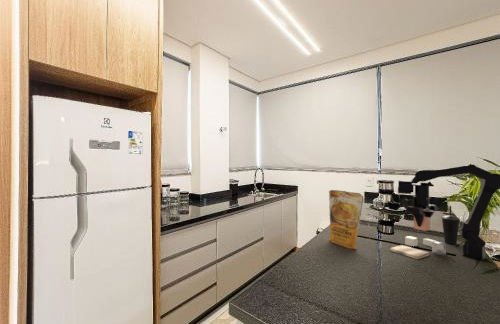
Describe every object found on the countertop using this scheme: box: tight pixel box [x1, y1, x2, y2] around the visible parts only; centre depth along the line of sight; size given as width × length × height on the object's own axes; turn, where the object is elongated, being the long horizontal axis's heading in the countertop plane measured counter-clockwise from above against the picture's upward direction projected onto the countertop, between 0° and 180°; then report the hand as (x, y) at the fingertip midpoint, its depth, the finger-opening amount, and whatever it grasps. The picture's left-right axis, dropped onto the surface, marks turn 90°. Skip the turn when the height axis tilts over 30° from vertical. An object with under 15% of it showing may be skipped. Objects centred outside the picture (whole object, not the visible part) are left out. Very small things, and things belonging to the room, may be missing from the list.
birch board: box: [389, 244, 430, 260], centre depth 111 cm, size 12×10×1 cm
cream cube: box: [404, 235, 419, 248], centre depth 122 cm, size 4×4×4 cm
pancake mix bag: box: [328, 189, 364, 250], centre depth 123 cm, size 7×19×28 cm, turn 31°
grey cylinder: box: [431, 240, 447, 256], centre depth 111 cm, size 5×5×5 cm
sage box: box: [422, 237, 436, 248], centre depth 121 cm, size 6×3×3 cm, turn 18°
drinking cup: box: [441, 205, 461, 245], centre depth 125 cm, size 8×8×20 cm
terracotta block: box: [413, 216, 431, 232], centre depth 117 cm, size 5×5×6 cm
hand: (422, 225), depth 117 cm, fingers closed on terracotta block, 5 cm apart
